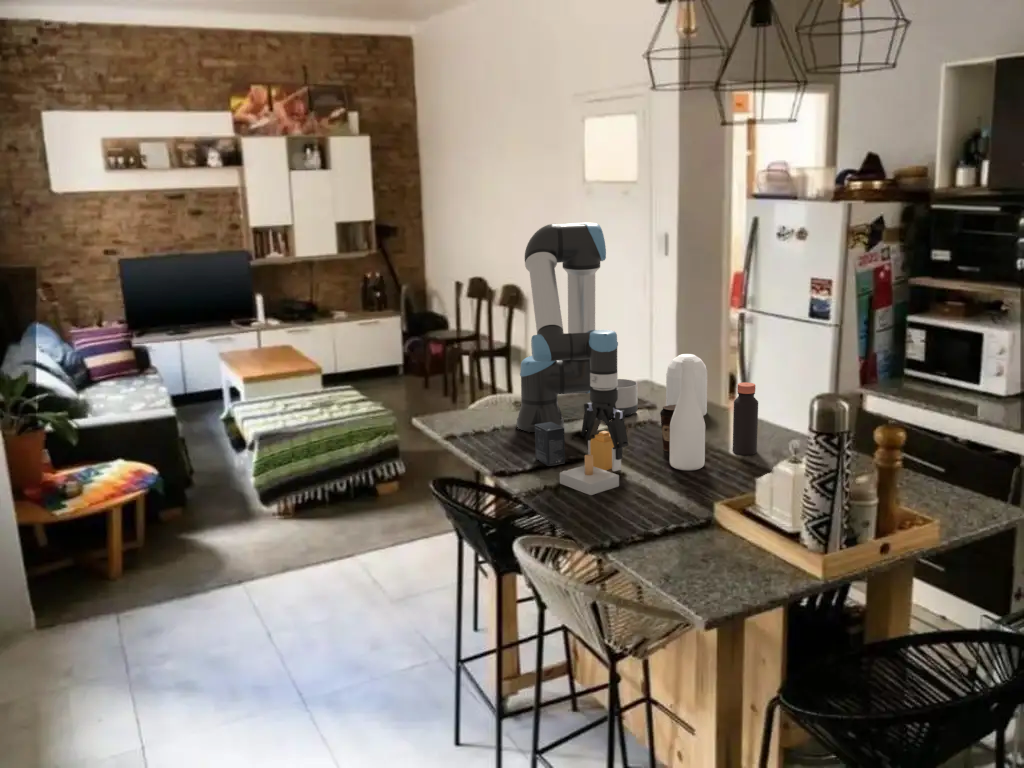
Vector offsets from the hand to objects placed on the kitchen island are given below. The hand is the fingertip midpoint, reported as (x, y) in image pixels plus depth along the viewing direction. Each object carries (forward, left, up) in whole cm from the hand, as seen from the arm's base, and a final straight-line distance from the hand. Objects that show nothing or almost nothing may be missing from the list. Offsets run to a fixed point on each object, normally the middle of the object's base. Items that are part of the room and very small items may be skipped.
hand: (604, 465), depth 251 cm
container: (-22, +58, 0) cm, 62 cm away
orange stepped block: (0, 0, 0) cm, 0 cm away
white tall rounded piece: (+15, +17, 0) cm, 23 cm away
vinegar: (+18, +38, 0) cm, 42 cm away
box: (-14, -8, 0) cm, 16 cm away
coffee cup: (+3, +25, 0) cm, 25 cm away
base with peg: (+6, -13, 0) cm, 14 cm away
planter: (-37, +41, 0) cm, 55 cm away
